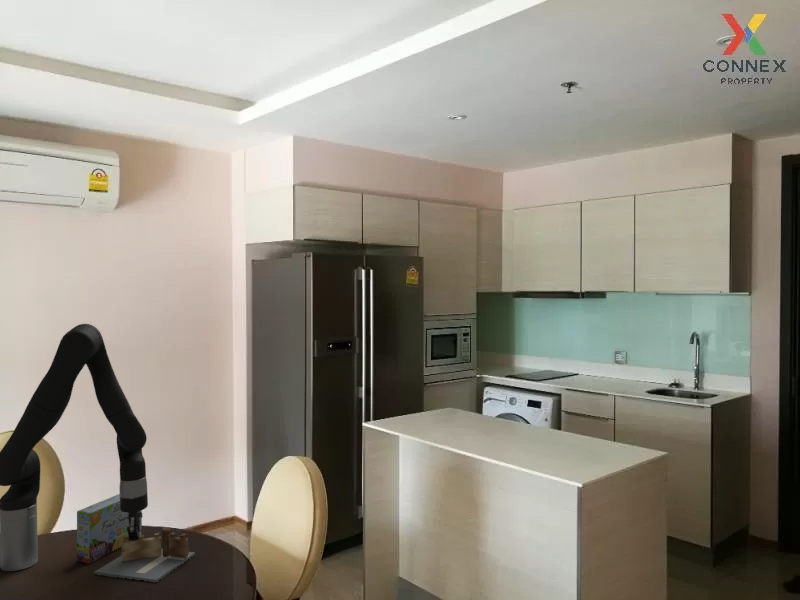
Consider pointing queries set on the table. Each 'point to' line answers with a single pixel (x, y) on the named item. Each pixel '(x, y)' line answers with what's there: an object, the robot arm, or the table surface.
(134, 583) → the table surface
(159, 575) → the board
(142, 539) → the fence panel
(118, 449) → the robot arm
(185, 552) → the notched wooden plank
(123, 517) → the snack box
